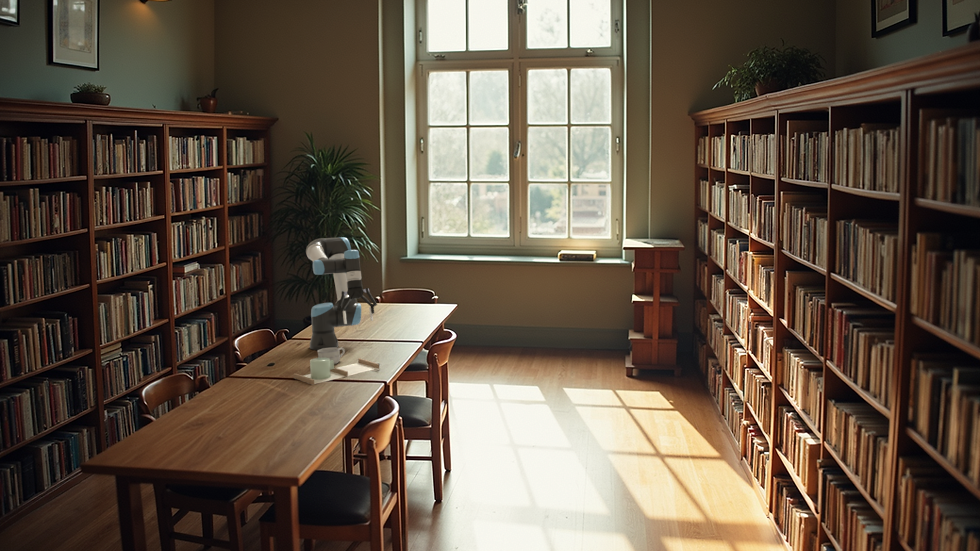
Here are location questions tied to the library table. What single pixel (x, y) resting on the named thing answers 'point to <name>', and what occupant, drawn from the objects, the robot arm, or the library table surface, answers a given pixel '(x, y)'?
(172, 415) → the library table surface
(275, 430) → the library table surface
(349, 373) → the beige tray
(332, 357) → the teacup
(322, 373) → the pale green cup
